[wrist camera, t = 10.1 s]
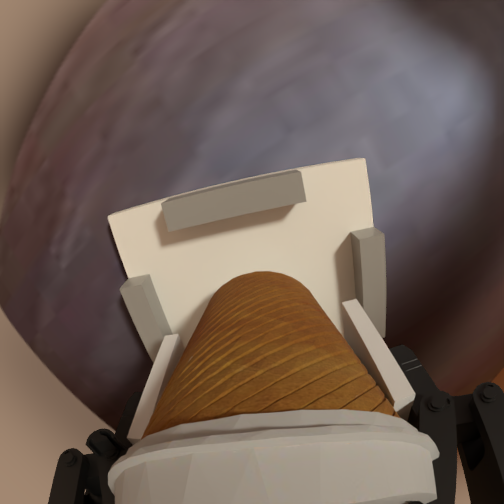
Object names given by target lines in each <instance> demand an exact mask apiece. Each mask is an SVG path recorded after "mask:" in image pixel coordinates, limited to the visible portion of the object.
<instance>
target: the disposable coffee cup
mask: <svg viewBox="0 0 504 504" xmlns="http://www.w3.org/2000/svg"><path fill="white" fill-rule="evenodd" d="M438 457H439V451H438V449H437V446H436V444H435V443H434V442H433V440H432V439H431V438H430V437H429V436H428V435H427V434H424V433H421V432H418V430H417V429H416V428H415V427H413V426H412V425H410V424H409V423H408V422H406V421H405V420H404V419H402V418H400V417H399V415H398V414H397V412H396V411H395V409H394V408H393V407H392V405H391V404H390V402H389V401H388V399H387V398H384V393H383V392H382V391H381V389H380V388H379V386H376V382H375V381H374V379H373V378H372V377H371V375H370V374H368V371H367V369H366V368H365V366H364V365H363V364H361V361H360V359H359V358H358V357H357V355H356V354H354V351H353V350H352V348H351V347H350V346H349V345H348V343H347V341H346V340H345V339H344V337H343V336H342V334H341V333H340V332H339V331H338V329H337V328H336V326H335V325H334V324H333V322H332V321H331V319H330V318H329V317H328V316H327V314H326V313H325V311H324V310H323V309H322V307H321V306H320V305H319V303H318V302H317V300H316V299H315V298H314V296H313V295H312V293H311V292H310V290H308V289H307V288H306V287H305V286H304V285H303V284H302V283H301V282H299V281H298V280H296V279H294V278H293V277H290V276H287V275H285V274H282V273H277V272H271V271H256V272H252V273H247V274H243V275H240V276H237V277H235V278H233V279H231V280H230V281H228V282H227V283H225V284H224V285H222V286H221V287H220V288H219V289H218V290H217V291H216V292H215V293H214V295H213V296H212V298H211V299H210V301H209V303H208V305H207V307H206V309H205V311H204V313H203V315H202V317H201V319H200V321H199V323H198V325H197V327H196V329H195V331H194V333H193V334H192V337H191V338H190V340H189V342H188V344H187V346H186V348H185V350H184V352H183V354H182V356H181V358H180V360H179V362H178V364H177V366H176V368H175V370H174V372H173V374H172V376H171V378H170V380H169V381H168V384H167V386H166V388H165V390H164V392H163V394H162V396H161V398H160V400H159V402H158V404H157V406H156V408H155V411H154V412H153V414H152V416H151V418H150V421H149V423H148V425H147V427H146V429H145V431H144V433H143V436H142V438H141V440H140V441H139V442H137V443H136V444H135V445H133V446H132V447H130V448H129V449H128V451H127V453H126V455H124V456H121V457H120V458H119V459H118V460H117V461H116V462H115V463H114V464H113V465H112V467H111V469H110V471H109V472H108V486H109V487H110V489H111V491H112V493H113V494H114V495H115V504H408V503H409V502H410V501H420V502H422V503H423V504H427V503H429V502H431V501H433V500H435V499H437V493H436V485H435V478H434V471H433V464H432V461H433V460H434V459H436V458H438Z"/></svg>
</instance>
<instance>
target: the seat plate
mask: <svg viewBox="0 0 504 504" xmlns="http://www.w3.org/2000/svg"><path fill="white" fill-rule="evenodd" d="M108 220H109V223H110V226H111V230H112V233H113V236H114V239H115V242H116V245H117V248H118V251H119V254H120V257H121V259H122V262H123V265H124V268H125V270H126V273H127V276H128V279H127V281H126V282H125V283H124V284H123V285H122V287H121V288H120V292H121V294H122V297H123V299H124V301H125V304H126V306H127V308H128V311H129V313H130V315H131V318H132V320H133V322H134V324H135V326H136V329H137V331H138V333H139V335H140V337H141V339H142V341H143V343H144V345H145V348H146V350H147V352H148V354H149V356H150V358H151V360H152V361H153V363H154V362H155V359H156V357H157V354H158V352H159V349H160V347H161V344H162V342H163V339H164V337H165V336H166V335H173V334H179V337H180V339H181V341H182V344H183V346H184V348H186V346H187V344H188V342H189V340H190V338H191V337H192V334H193V333H194V331H195V329H196V327H197V325H198V323H199V321H200V319H201V317H202V315H203V313H204V311H205V309H206V307H207V305H208V303H209V301H210V299H211V298H212V296H213V295H214V293H215V292H216V291H217V290H218V289H219V288H220V287H221V286H222V285H224V284H225V283H227V282H228V281H230V280H231V279H233V278H235V277H237V276H240V275H243V274H247V273H252V272H256V271H271V272H277V273H282V274H285V275H287V276H290V277H293V278H294V279H296V280H298V281H299V282H301V283H302V284H303V285H304V286H305V287H306V288H307V289H308V290H310V292H311V293H312V295H313V296H314V298H315V299H316V300H317V302H318V303H319V305H320V306H321V307H322V309H323V310H324V311H325V313H326V314H327V316H328V317H329V318H330V319H331V321H332V322H333V324H334V325H335V326H336V328H337V329H338V331H339V332H340V333H341V334H342V336H343V337H344V326H343V311H342V302H346V301H350V300H354V299H357V300H358V302H359V304H360V305H361V307H362V308H363V310H364V311H365V313H366V314H367V316H368V317H369V319H370V320H371V322H372V323H373V325H374V326H375V328H376V330H377V331H378V333H379V334H380V336H381V337H382V338H384V337H385V328H386V260H385V240H384V234H383V233H382V232H380V231H379V230H377V229H376V228H374V227H373V217H372V207H371V198H370V190H369V182H368V175H367V168H366V162H365V158H354V159H348V160H341V161H335V162H328V163H322V164H316V165H310V166H305V167H299V168H294V169H288V170H283V171H278V172H273V173H268V174H263V175H258V176H254V177H249V178H244V179H240V180H235V181H231V182H227V183H222V184H218V185H214V186H210V187H206V188H202V189H198V190H194V191H190V192H186V193H182V194H178V195H174V196H171V197H167V198H163V199H160V200H156V201H153V202H149V203H146V204H142V205H139V206H135V207H132V208H129V209H125V210H122V211H119V212H116V213H113V214H111V215H109V216H108Z"/></svg>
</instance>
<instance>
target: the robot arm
mask: <svg viewBox="0 0 504 504" xmlns="http://www.w3.org/2000/svg"><path fill="white" fill-rule="evenodd" d="M342 311H343V326H344V339H345V340H346V341H347V343H348V345H349V346H350V347H351V348H352V350H353V351H354V354H356V355H357V357H358V358H359V359H360V361H361V364H363V365H364V366H365V368H366V369H367V371H368V374H370V375H371V377H372V378H373V379H374V381H375V382H376V386H379V388H380V389H381V391H382V392H383V393H384V398H387V399H388V401H389V402H390V404H391V405H392V407H393V408H394V409H395V411H396V412H397V414H398V415H399V417H400V418H402V419H404V420H405V421H406V422H408V423H409V424H410V425H412V426H413V427H415V428H416V429H417V430H418V432H421V433H424V434H427V435H428V436H429V437H430V438H431V439H432V440H433V442H434V443H435V444H436V446H437V449H438V451H439V457H438V458H436V459H434V460H433V461H432V464H433V471H434V478H435V485H436V493H437V499H435V500H433V501H431V502H429V503H427V504H455V492H456V474H457V448H458V451H459V455H460V459H461V462H462V466H463V470H464V474H465V478H466V482H467V487H468V491H469V496H470V501H471V504H504V393H503V391H502V389H501V388H500V387H499V386H498V385H496V384H495V383H490V382H486V383H482V384H480V385H478V386H477V387H476V389H475V390H474V392H473V394H468V395H462V396H450V395H449V394H448V393H446V392H444V391H440V390H439V389H438V388H437V387H436V385H435V384H434V382H433V381H432V379H431V378H430V376H429V375H428V373H427V372H426V370H425V369H424V367H423V366H422V364H421V363H420V361H419V360H417V357H416V356H415V354H414V353H413V351H412V350H411V349H409V348H408V347H406V346H404V345H403V344H402V345H399V346H396V347H393V348H390V349H388V347H387V345H386V344H385V342H384V341H383V339H382V337H381V336H380V334H379V333H378V331H377V330H376V328H375V326H374V325H373V323H372V322H371V320H370V319H369V317H368V316H367V314H366V313H365V311H364V310H363V308H362V307H361V305H360V304H359V302H358V300H357V299H354V300H350V301H346V302H342ZM184 350H185V348H184V346H183V344H182V341H181V339H180V337H179V334H173V335H166V336H165V337H164V339H163V342H162V344H161V347H160V349H159V352H158V354H157V357H156V359H155V362H154V365H153V367H152V370H151V372H150V375H149V378H148V380H147V383H146V386H145V388H144V391H143V392H135V393H134V394H133V395H132V396H131V397H130V398H129V400H128V402H127V404H126V407H125V410H124V412H123V414H122V417H121V419H120V422H119V425H118V427H117V430H116V432H115V434H114V433H113V432H112V431H110V430H108V429H99V430H97V431H94V432H93V433H92V434H91V435H90V436H89V437H88V439H87V442H86V445H87V446H88V447H89V448H90V450H92V452H93V454H86V455H83V454H82V453H81V452H80V451H79V450H77V449H74V448H72V449H68V450H66V451H64V452H63V453H62V454H61V455H60V458H59V460H58V464H57V467H56V471H55V476H54V479H53V484H52V488H51V493H50V497H49V502H48V504H115V495H114V494H113V493H112V491H111V489H110V487H109V486H108V472H109V471H110V469H111V467H112V465H113V464H114V463H115V462H116V461H117V460H118V459H119V458H120V457H121V456H124V455H126V453H127V451H128V449H129V448H130V447H132V446H133V445H135V444H136V443H137V442H139V441H140V440H141V438H142V436H143V433H144V431H145V429H146V427H147V425H148V423H149V421H150V418H151V416H152V414H153V412H154V411H155V408H156V406H157V404H158V402H159V400H160V398H161V396H162V394H163V392H164V390H165V388H166V386H167V384H168V381H169V380H170V378H171V376H172V374H173V372H174V370H175V368H176V366H177V364H178V362H179V360H180V358H181V356H182V354H183V352H184ZM85 489H86V492H85ZM84 492H85V494H84ZM408 504H423V503H422V502H420V501H410V502H409V503H408Z"/></svg>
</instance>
